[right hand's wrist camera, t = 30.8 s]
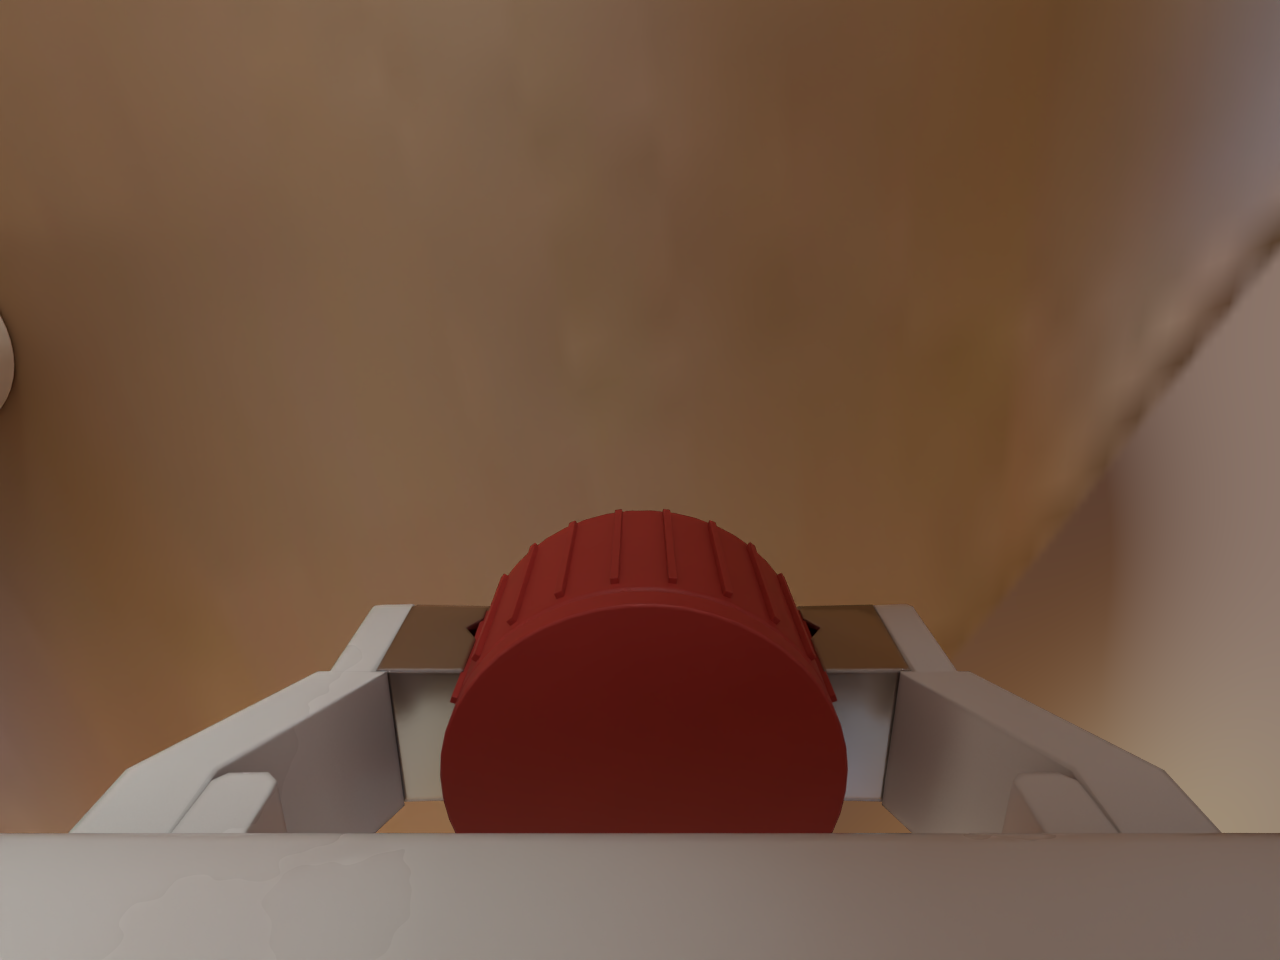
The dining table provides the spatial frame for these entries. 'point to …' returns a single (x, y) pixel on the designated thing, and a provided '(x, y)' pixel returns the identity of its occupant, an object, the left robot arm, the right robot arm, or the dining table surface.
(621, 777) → the cap
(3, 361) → the bottle
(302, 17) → the dining table surface
